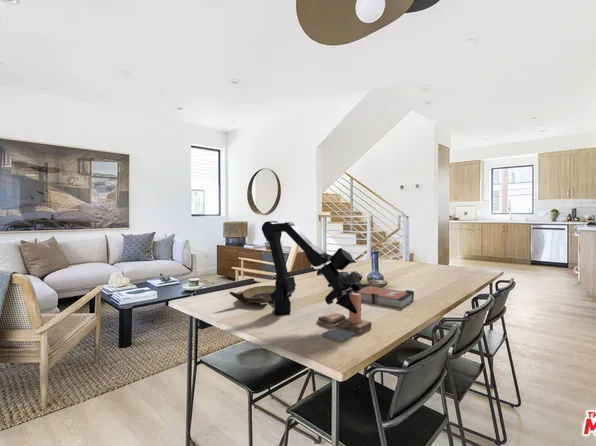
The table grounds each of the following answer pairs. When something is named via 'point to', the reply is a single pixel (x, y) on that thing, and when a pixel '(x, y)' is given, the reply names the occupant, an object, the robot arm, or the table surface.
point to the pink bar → (356, 302)
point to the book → (386, 296)
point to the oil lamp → (255, 294)
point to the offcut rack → (343, 323)
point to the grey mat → (338, 334)
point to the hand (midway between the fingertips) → (358, 311)
